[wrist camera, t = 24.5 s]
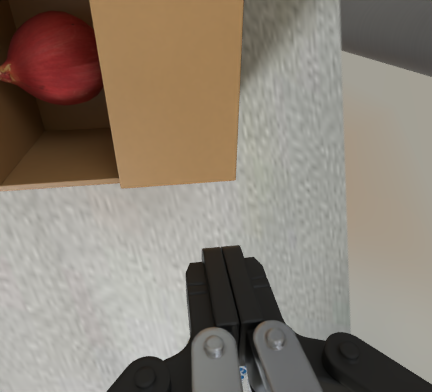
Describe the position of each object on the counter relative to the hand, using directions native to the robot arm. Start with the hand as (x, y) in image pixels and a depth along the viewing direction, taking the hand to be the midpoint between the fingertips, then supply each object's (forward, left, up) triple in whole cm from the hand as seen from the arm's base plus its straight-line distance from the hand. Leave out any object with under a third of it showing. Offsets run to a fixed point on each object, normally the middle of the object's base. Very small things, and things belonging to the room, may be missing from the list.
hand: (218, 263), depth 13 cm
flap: (+1, -6, -9) cm, 11 cm away
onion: (+5, -6, -18) cm, 19 cm away
